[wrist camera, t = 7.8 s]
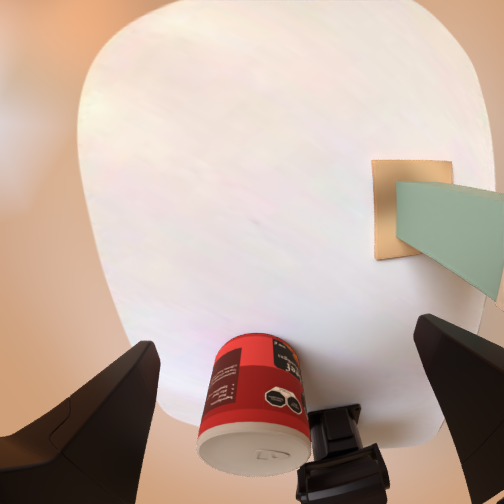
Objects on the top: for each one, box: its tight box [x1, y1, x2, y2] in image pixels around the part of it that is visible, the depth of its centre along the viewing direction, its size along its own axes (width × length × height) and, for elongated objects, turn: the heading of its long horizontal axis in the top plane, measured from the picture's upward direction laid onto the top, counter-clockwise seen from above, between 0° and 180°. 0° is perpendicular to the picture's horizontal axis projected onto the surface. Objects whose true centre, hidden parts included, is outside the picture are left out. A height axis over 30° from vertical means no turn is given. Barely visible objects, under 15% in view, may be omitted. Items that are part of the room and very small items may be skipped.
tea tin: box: [396, 181, 504, 312], centre depth 13 cm, size 5×5×13 cm
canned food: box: [196, 333, 311, 477], centre depth 20 cm, size 8×8×11 cm
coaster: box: [372, 160, 453, 260], centre depth 20 cm, size 8×8×1 cm
